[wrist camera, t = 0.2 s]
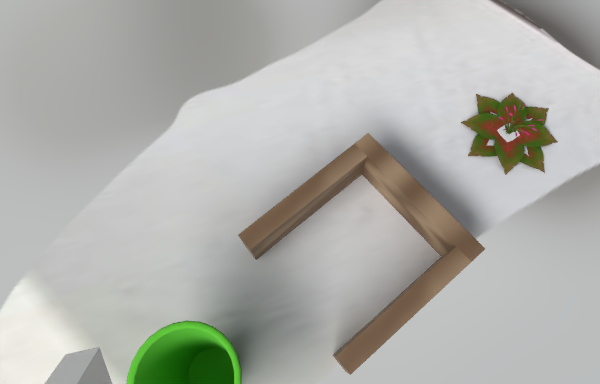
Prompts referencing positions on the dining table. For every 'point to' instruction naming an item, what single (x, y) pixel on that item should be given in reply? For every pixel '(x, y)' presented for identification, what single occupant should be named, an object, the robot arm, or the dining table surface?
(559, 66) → the dining table surface
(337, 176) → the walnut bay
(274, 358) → the dining table surface
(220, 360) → the cup
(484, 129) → the lily flower
